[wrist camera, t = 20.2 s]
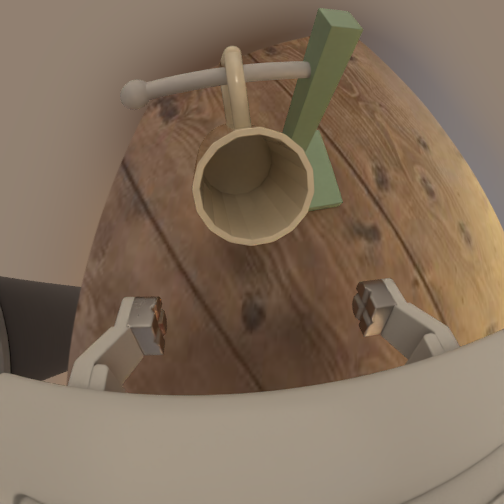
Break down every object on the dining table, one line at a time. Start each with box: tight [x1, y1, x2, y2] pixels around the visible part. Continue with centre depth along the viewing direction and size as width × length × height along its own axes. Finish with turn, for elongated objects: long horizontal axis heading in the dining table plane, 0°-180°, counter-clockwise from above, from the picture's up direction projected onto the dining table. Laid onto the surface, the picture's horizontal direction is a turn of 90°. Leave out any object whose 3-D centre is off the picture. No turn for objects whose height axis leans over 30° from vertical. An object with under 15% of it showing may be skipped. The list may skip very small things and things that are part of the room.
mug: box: [192, 46, 314, 246], centre depth 18 cm, size 12×7×10 cm
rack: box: [120, 8, 363, 211], centre depth 22 cm, size 19×10×23 cm, turn 102°
